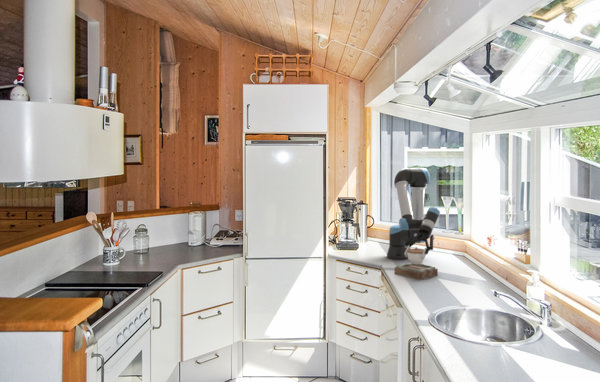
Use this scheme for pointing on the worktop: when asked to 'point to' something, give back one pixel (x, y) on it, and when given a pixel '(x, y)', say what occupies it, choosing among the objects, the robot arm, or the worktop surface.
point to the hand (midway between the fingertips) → (413, 256)
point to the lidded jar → (415, 255)
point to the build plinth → (416, 271)
